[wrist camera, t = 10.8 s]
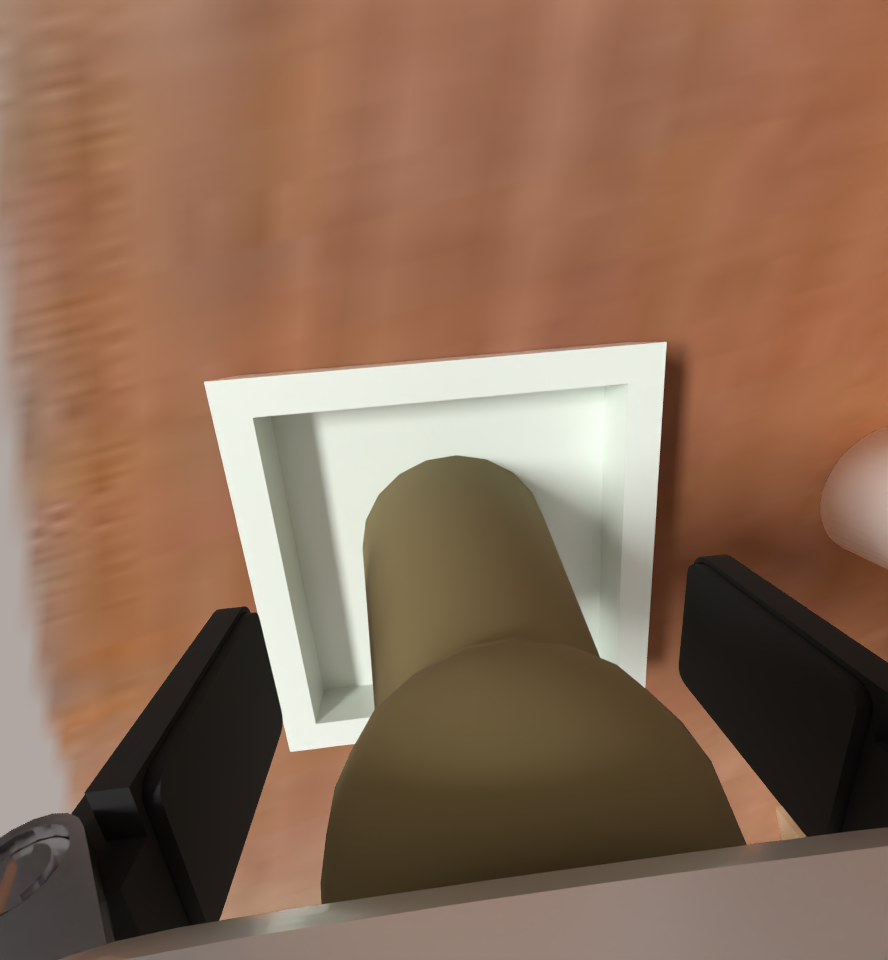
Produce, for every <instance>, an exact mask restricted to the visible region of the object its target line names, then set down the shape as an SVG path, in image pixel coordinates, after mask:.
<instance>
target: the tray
mask: <svg viewBox="0 0 888 960" xmlns="http://www.w3.org/2000/svg"><path fill="white" fill-rule="evenodd" d="M666 345H667V342H625V343H613V344H601V345H590V346H578V347H567V348H555V349H543V350H532V351H520V352H508V353H497V354H485V355H474V356H462V357H450V358H439V359H427V360H416V361H404V362H392V363H381V364H369V365H358V366H346V367H334V368H323V369H311V370H299V371H288V372H276V373H265V374H253V375H241V376H234V377H228V378H223V379H217V380H212V381H206V382H204V384H205V389H206V393H207V397H208V401H209V406H210V410H211V414H212V419H213V423H214V427H215V431H216V436H217V440H218V444H219V449H220V453H221V457H222V461H223V466H224V470H225V474H226V479H227V483H228V487H229V491H230V496H231V500H232V504H233V509H234V513H235V517H236V521H237V526H238V530H239V534H240V539H241V543H242V547H243V552H244V556H245V560H246V564H247V569H248V573H249V577H250V582H251V586H252V590H253V594H254V599H255V603H256V607H257V612H258V616H259V619H260V622H261V627H262V631H263V635H264V639H265V643H266V648H267V652H268V656H269V660H270V664H271V669H272V673H273V677H274V681H275V685H276V690H277V694H278V698H279V702H280V706H281V711H282V718H283V723H284V727H285V732H286V736H287V740H288V745H289V749H290V752H293V751H301V750H309V749H317V748H325V747H332V746H340V745H348V744H355V743H356V741H357V740H358V738H359V736H360V734H361V733H362V731H363V729H364V727H365V725H366V724H367V722H368V720H369V718H370V716H371V715H372V713H373V711H374V709H375V708H374V695H373V681H372V668H371V655H370V642H369V628H368V615H367V602H366V588H365V575H364V562H363V548H362V547H363V539H364V530H365V522H366V519H367V517H368V515H369V513H370V511H371V509H372V507H373V505H374V503H375V501H376V499H377V497H378V495H379V494H380V493H381V492H382V491H383V490H384V489H385V488H386V487H387V486H388V485H389V484H390V483H391V482H392V481H393V480H394V479H395V478H396V477H397V476H398V475H399V474H401V473H402V472H404V471H406V470H408V469H410V468H412V467H414V466H416V465H418V464H420V463H422V462H424V461H426V460H431V459H437V458H443V457H449V456H454V455H459V456H466V457H473V458H480V459H487V460H489V461H491V462H493V463H495V464H497V465H499V466H501V467H503V468H505V469H507V470H509V471H511V472H513V473H514V474H515V475H516V476H517V477H518V478H519V479H520V480H521V481H522V482H523V483H524V484H525V485H526V486H527V487H528V488H529V489H530V490H531V491H532V493H533V495H534V497H535V500H536V502H537V504H538V506H539V508H540V510H541V512H542V514H543V517H544V519H545V522H546V524H547V527H548V529H549V532H550V534H551V536H552V539H553V541H554V544H555V546H556V549H557V551H558V554H559V556H560V559H561V561H562V564H563V566H564V569H565V571H566V574H567V576H568V579H569V581H570V584H571V586H572V589H573V591H574V594H575V596H576V599H577V601H578V603H579V606H580V608H581V611H582V613H583V616H584V618H585V621H586V623H587V626H588V628H589V631H590V633H591V636H592V638H593V641H594V643H595V646H596V648H597V651H598V653H599V656H600V658H602V659H605V660H607V661H609V662H612V663H614V664H617V665H618V666H619V667H620V668H622V669H623V670H624V671H625V672H626V673H628V674H629V675H630V676H631V677H632V678H634V679H635V680H636V681H637V682H638V683H640V684H641V685H642V686H643V687H644V688H645V682H646V666H647V650H648V634H649V618H650V602H651V586H652V570H653V554H654V538H655V521H656V505H657V489H658V473H659V457H660V441H661V425H662V409H663V393H664V377H665V361H666Z"/></svg>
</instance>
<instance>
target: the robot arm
mask: <svg viewBox="0 0 888 960" xmlns="http://www.w3.org/2000/svg"><path fill="white" fill-rule="evenodd" d="M679 672H680V675H681V678H682V680H683V682H684V683H685V685H686V686H687V687H688V689H689V690H690V691H691V693H692V694H693V695H694V696H695V698H696V699H697V700H698V701H699V703H700V704H701V705H702V706H703V708H704V709H705V710H706V711H707V713H708V714H709V715H710V716H711V718H712V719H713V720H714V721H715V723H716V724H717V725H718V726H719V728H720V729H721V730H722V731H723V733H724V734H725V735H726V736H727V738H728V739H729V740H730V741H731V743H732V744H733V745H734V746H735V748H736V749H737V750H738V751H739V753H740V754H741V755H742V757H743V758H744V759H745V760H746V762H747V763H748V764H749V765H750V767H751V768H752V769H753V770H754V772H755V773H756V774H757V775H758V777H759V778H760V779H761V780H762V782H763V783H764V784H765V785H766V787H767V788H768V789H769V790H770V792H771V793H772V794H773V795H774V797H775V798H776V799H777V800H778V802H779V803H780V804H781V805H782V807H783V808H784V809H785V810H786V812H787V813H788V814H789V815H790V817H791V818H792V819H793V821H794V822H795V823H796V824H797V826H798V827H799V828H800V829H801V831H802V832H803V833H804V834H805V835H806V836H807V837H804V838H796V839H789V840H781V841H773V842H766V843H758V844H751V845H743V846H735V847H728V848H720V849H713V850H705V851H697V852H690V853H682V854H675V855H668V856H660V857H653V858H646V859H639V860H631V861H624V862H617V863H609V864H602V865H595V866H588V867H580V868H573V869H566V870H559V871H552V872H544V873H537V874H530V875H523V876H516V877H509V878H501V879H494V880H487V881H480V882H473V883H466V884H459V885H452V886H445V887H438V888H431V889H424V890H418V891H411V892H404V893H397V894H390V895H383V896H376V897H369V898H362V899H356V900H349V901H342V902H335V903H328V904H321V905H314V906H307V907H300V908H294V909H288V910H282V911H276V912H270V913H264V914H258V915H252V916H245V917H239V918H233V919H227V920H221V921H219V919H220V916H221V914H222V911H223V908H224V905H225V902H226V899H227V896H228V893H229V890H230V887H231V884H232V880H233V877H234V874H235V871H236V868H237V865H238V862H239V859H240V856H241V853H242V850H243V847H244V844H245V841H246V838H247V835H248V832H249V829H250V826H251V823H252V820H253V817H254V813H255V810H256V807H257V804H258V801H259V798H260V795H261V792H262V789H263V786H264V783H265V780H266V777H267V774H268V771H269V768H270V765H271V762H272V759H273V756H274V753H275V750H276V747H277V743H278V740H279V737H280V734H281V731H282V722H283V718H282V711H281V706H280V702H279V698H278V694H277V690H276V685H275V681H274V677H273V673H272V669H271V664H270V660H269V656H268V652H267V648H266V643H265V639H264V635H263V631H262V627H261V622H260V619H259V616H258V614H257V613H250V610H249V609H248V608H247V607H237V608H227V609H219V610H216V611H215V612H214V613H213V615H212V616H211V618H210V619H209V620H208V622H207V623H206V624H205V626H204V627H203V629H202V630H201V631H200V633H199V634H198V636H197V637H196V638H195V640H194V641H193V643H192V644H191V645H190V647H189V648H188V650H187V651H186V652H185V654H184V655H183V656H182V658H181V659H180V661H179V662H178V663H177V665H176V666H175V668H174V669H173V670H172V672H171V673H170V675H169V676H168V677H167V679H166V680H165V682H164V683H163V684H162V686H161V687H160V688H159V690H158V691H157V693H156V694H155V695H154V697H153V698H152V700H151V701H150V702H149V704H148V705H147V707H146V708H145V709H144V711H143V712H142V714H141V715H140V716H139V718H138V719H137V721H136V722H135V723H134V725H133V726H132V727H131V729H130V730H129V732H128V733H127V734H126V736H125V737H124V739H123V740H122V741H121V743H120V744H119V746H118V747H117V748H116V750H115V751H114V753H113V754H112V755H111V757H110V758H109V759H108V761H107V762H106V764H105V765H104V766H103V768H102V769H101V771H100V772H99V773H98V775H97V776H96V778H95V779H94V780H93V782H92V783H91V785H90V786H89V787H88V789H87V790H86V791H85V796H84V797H83V798H82V800H81V801H80V803H79V804H78V805H77V807H76V808H75V810H74V811H73V812H72V814H69V813H55V814H50V815H46V816H43V817H40V818H36V819H33V820H31V821H29V822H27V823H25V824H23V825H21V826H19V827H17V828H15V829H13V830H11V831H9V832H8V833H6V834H5V835H3V836H2V837H0V960H888V663H887V662H886V661H884V660H883V659H881V658H880V657H878V656H877V655H875V654H874V653H873V652H871V651H870V650H868V649H867V648H865V647H864V646H862V645H861V644H859V643H858V642H856V641H855V640H853V639H852V638H850V637H849V636H847V635H846V634H844V633H843V632H841V631H840V630H839V629H837V628H836V627H834V626H833V625H831V624H830V623H828V622H827V621H825V620H824V619H822V618H821V617H819V616H818V615H816V614H815V613H813V612H812V611H810V610H809V609H808V608H806V607H805V606H803V605H802V604H800V603H799V602H797V601H796V600H794V599H793V598H791V597H790V596H788V595H787V594H785V593H784V592H782V591H781V590H779V589H778V588H776V587H775V586H774V585H772V584H771V583H769V582H768V581H766V580H765V579H763V578H762V577H760V576H759V575H757V574H756V573H754V572H753V571H751V570H750V569H748V568H747V567H745V566H744V565H743V564H741V563H740V562H738V561H737V560H735V559H734V558H732V557H731V556H728V555H716V556H707V557H699V558H698V559H696V561H695V563H694V565H691V566H690V567H689V569H688V574H687V584H686V594H685V605H684V615H683V626H682V636H681V647H680V657H679Z"/></svg>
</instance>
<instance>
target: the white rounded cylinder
mask: <svg viewBox="0 0 888 960" xmlns="http://www.w3.org/2000/svg"><path fill="white" fill-rule="evenodd" d="M820 513H821V520H822V524H823V526H824V529H825V531H826V533H827V535H828V536H829V537H830V538H831V540H832V541H833V542H835V543H836V544H837V545H838V546H840V547H842V548H843V549H845V550H848V551H850V552H852V553H854V554H856V555H858V556H860V557H862V558H865V559H867V560H869V561H871V562H873V563H875V564H877V565H880V566H882V567H884V568H886V569H888V426H886V427H883V428H880V429H878V430H876V431H874V432H872V433H870V434H868V435H866V436H865V437H863V438H862V439H860V440H859V441H858V442H856V443H855V444H854V445H853V446H852V447H850V448H849V449H848V450H847V451H846V452H845V454H844V455H843V456H842V457H841V458H840V459H839V461H838V462H837V463H836V465H835V466H834V468H833V469H832V471H831V473H830V475H829V477H828V479H827V481H826V483H825V486H824V489H823V493H822V497H821V505H820Z"/></svg>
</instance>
